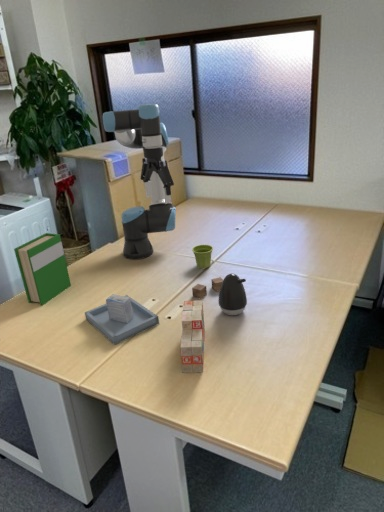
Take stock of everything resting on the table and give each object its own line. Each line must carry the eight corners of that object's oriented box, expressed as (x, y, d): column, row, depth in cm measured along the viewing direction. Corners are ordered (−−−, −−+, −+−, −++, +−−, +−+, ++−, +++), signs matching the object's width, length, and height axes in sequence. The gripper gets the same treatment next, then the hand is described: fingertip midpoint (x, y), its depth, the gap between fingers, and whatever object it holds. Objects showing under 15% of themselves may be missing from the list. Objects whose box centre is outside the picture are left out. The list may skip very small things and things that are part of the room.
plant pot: (212, 270, 179) (211, 252, 176) (191, 270, 181) (190, 252, 178) (215, 261, 188) (214, 244, 184) (195, 261, 190) (194, 244, 186)
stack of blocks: (203, 372, 118) (200, 337, 113) (182, 373, 118) (178, 338, 113) (204, 330, 137) (202, 299, 132) (186, 331, 138) (183, 300, 133)
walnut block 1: (192, 296, 159) (192, 287, 158) (198, 292, 162) (197, 283, 161) (201, 299, 157) (200, 290, 155) (206, 294, 160) (206, 286, 158)
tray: (86, 319, 149) (84, 312, 148) (127, 301, 159) (126, 294, 158) (114, 344, 133) (113, 337, 132) (159, 323, 143) (158, 316, 142)
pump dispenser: (240, 322, 140) (238, 283, 134) (214, 315, 146) (211, 277, 140) (252, 308, 148) (251, 271, 142) (227, 302, 153) (225, 266, 147)
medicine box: (134, 317, 146) (130, 297, 143) (127, 324, 142) (123, 303, 139) (116, 314, 149) (112, 293, 146) (109, 320, 146) (105, 299, 142)
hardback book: (42, 305, 162) (28, 250, 152) (28, 302, 165) (13, 248, 155) (71, 285, 176) (59, 234, 167) (57, 283, 179) (46, 233, 169)
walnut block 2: (211, 287, 165) (211, 279, 163) (220, 285, 166) (220, 277, 164) (215, 292, 162) (215, 283, 160) (224, 289, 163) (224, 281, 161)
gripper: (127, 145, 162) (134, 197, 171) (163, 150, 144) (168, 207, 153) (143, 143, 166) (149, 193, 175) (179, 147, 148) (184, 203, 157)
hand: (158, 200), depth 164 cm, fingers open, 13 cm apart
